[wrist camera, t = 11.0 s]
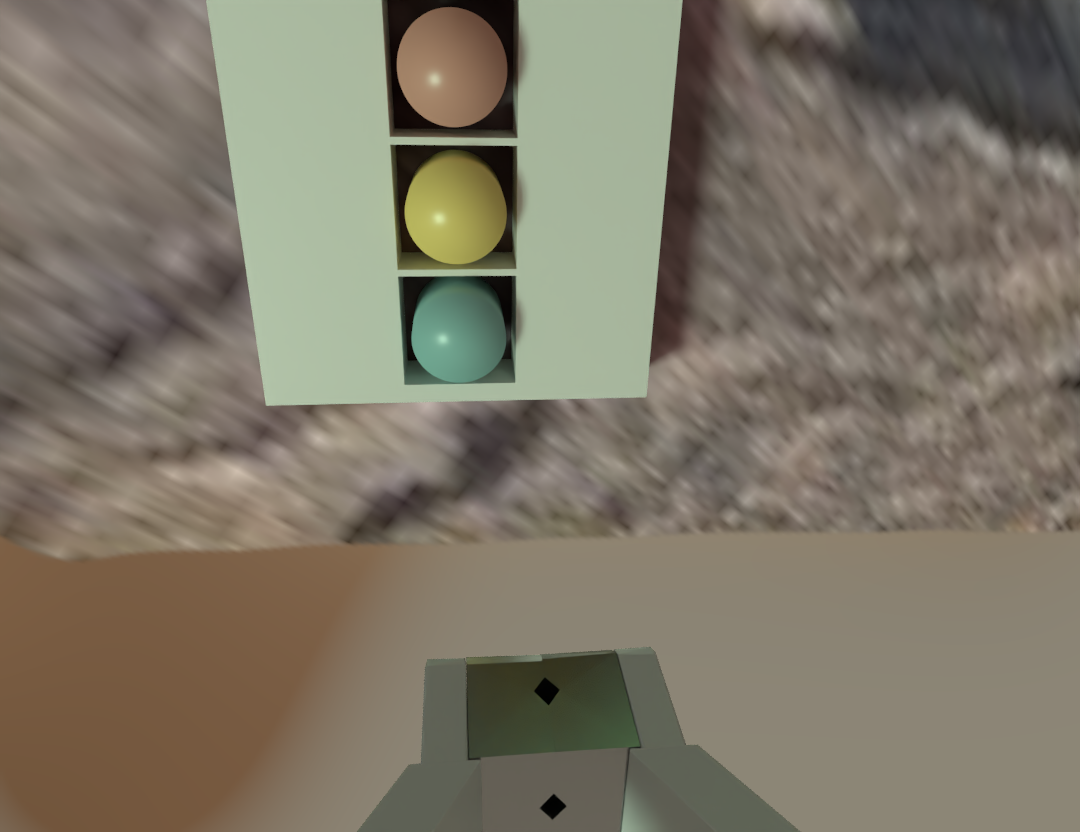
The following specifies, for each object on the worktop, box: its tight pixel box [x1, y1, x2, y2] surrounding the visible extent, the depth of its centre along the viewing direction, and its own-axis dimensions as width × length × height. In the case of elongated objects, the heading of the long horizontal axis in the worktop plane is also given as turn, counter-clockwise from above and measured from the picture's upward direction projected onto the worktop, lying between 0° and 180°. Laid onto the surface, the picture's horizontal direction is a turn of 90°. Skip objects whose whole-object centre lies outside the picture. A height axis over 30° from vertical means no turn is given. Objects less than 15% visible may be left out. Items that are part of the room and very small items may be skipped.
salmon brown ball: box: [397, 7, 507, 127], centre depth 31 cm, size 4×4×4 cm
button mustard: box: [405, 150, 507, 264], centre depth 34 cm, size 4×4×4 cm
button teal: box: [411, 276, 506, 383], centre depth 36 cm, size 4×4×4 cm
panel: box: [206, 0, 683, 406], centre depth 34 cm, size 18×18×3 cm
